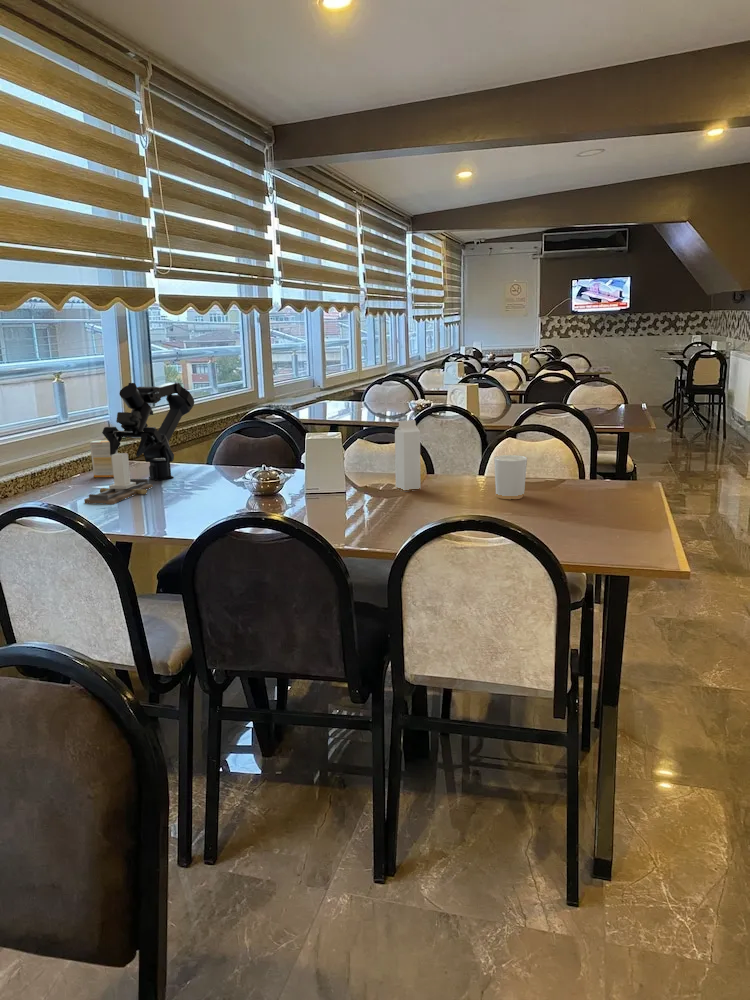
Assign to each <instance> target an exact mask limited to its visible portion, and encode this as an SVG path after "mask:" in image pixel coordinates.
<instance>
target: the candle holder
mask: <svg viewBox="0 0 750 1000" xmlns="http://www.w3.org/2000/svg"><path fill="white" fill-rule="evenodd" d="M493 460H494V463H493V464H494V480H495V481H494V483H495V495H496V494H498V495H502V496H518V495H522V494H524V495H525V487H526V479H527V478H526V476H527V464H528V457H526V456H523V455H515V454H513V455H512V454H508V455H506V454H505V455H504V454H503V455H498V456H495V457H494V458H493Z"/></svg>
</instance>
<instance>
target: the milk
mask: <svg viewBox="0 0 750 1000" xmlns="http://www.w3.org/2000/svg"><path fill="white" fill-rule="evenodd" d="M394 452H395V453H394V461H395V462H394V463H395V468H394V470H395V473H394V474H395V475H394V476H395V488H396V487H398V488H401V489H403V490H409V489H419V488H420V489H421V430H420V429H419V427H418V426H417V423H416V420H415V419H412V420H411V419H410V420H399V421H398V427H396V429H395V430H394Z"/></svg>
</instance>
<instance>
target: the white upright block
mask: <svg viewBox="0 0 750 1000" xmlns="http://www.w3.org/2000/svg"><path fill="white" fill-rule="evenodd" d="M112 464H113V474H114V477H113V481H114V483H112V484H109V485H108V486H109V487H108V488H109V489H115V491H118V492H119V491H121V490H124V489H128V488H130V487H133V486H135V485H136V482H130V479H131V474H130V463H129V454H128V453H126V452H121V453H120V452H118V453H117V454H113V455H112Z"/></svg>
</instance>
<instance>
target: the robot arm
mask: <svg viewBox="0 0 750 1000" xmlns="http://www.w3.org/2000/svg"><path fill="white" fill-rule="evenodd" d="M119 396H120V398H121V400H122V401H123V402H124V403H125V405H126V407H127V408H129V409H130V411H131V412H127V411H124V412H123V411H122V412H120V411H119V412H117V414H116V420H115V422H116V424H117V423H119V424H120V425H121V426H120V427H121V429H123V430H119V429H118V427H116V426H104V428H103V430H102V432H101V434H102V435H103V436H104V437H105V438H106V440H108V441H109V442H110V455H111V456H112V455H113V454H115V453H116V451H118V449H119V448H120V446H121V444H122V443H121V442H122V439H123V438H132V439H140V441H139V445H138V446H137V450H136V453H135V456H136V457H137V458H139V457H140V456H142V455H143V457H144V461H145V462H146V463H149V467H148V469H149V477H148V479H149V478H151V479H150V480H154V479H155V481H163V479H164V480H169V479H174V477H175V476H173V475H172V472H171V471H172V470H171V462H174V459H175V453H174V452H173V451H172V450H171V446H170V443H169V442H170V440H171V439H172V436H173V435H174V433H175V431H176V428H177V426H178V425H179V423H180V421H181V420H182V417H183V416H185V415H186V414H188V413H190V411H191V410H192V409H193V407H194V404H195V399H194V397H193V396H192V394H191V392H190V391H189V390H188V389H186V388H184V387H183V386H182V385H181V384H180V383H179V382H173V381H172V382H170V381H167V382H165V383H162V384H159V385H156V386H137V384H136V383H135V382H128V385H126V386H125V385H124V387H122V388H121V389H120V391H119ZM164 397H166V398H165V399H166V401H167V402H168V403H167V404H168V405H169V406H168V407H169V410H168V412H167V414H166V415H165V417H164V419H163V420H162V423H161V424H160V426H159V428H158V429H157V428H156V427H155V426H153V427H151V426H148V424H147V422H148V420H149V416H152V415H154V410H153V409H152V407H151V404H157V403H158V402H161V398H164Z"/></svg>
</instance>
